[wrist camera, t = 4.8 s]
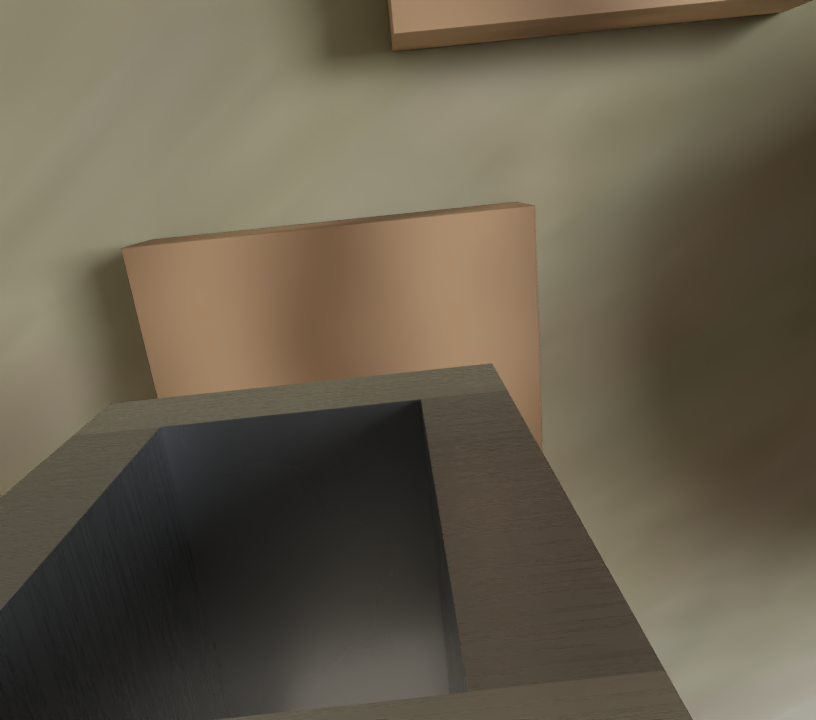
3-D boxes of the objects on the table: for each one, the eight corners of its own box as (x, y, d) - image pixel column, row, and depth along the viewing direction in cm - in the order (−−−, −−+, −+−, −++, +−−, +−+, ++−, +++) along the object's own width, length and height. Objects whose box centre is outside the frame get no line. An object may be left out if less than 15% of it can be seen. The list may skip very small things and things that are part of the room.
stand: (516, 201, 16) (534, 205, 14) (529, 518, 19) (545, 555, 17) (152, 239, 16) (121, 248, 14) (222, 552, 19) (204, 594, 17)
